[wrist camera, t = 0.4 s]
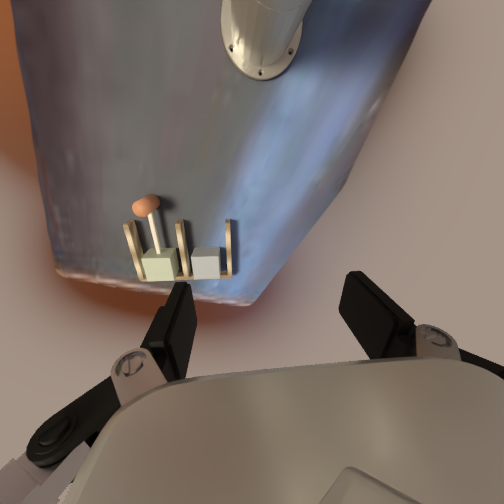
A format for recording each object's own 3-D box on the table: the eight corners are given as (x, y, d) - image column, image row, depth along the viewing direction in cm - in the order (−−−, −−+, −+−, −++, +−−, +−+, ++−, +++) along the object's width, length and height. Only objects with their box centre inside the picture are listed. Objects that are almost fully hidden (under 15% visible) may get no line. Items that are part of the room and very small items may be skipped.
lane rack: (129, 219, 43) (122, 224, 40) (230, 219, 45) (229, 223, 42) (145, 276, 50) (140, 283, 47) (232, 273, 52) (232, 280, 49)
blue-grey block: (194, 247, 48) (190, 256, 43) (219, 246, 48) (218, 256, 44) (197, 268, 50) (194, 279, 46) (221, 267, 51) (220, 278, 46)
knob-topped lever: (136, 194, 41) (121, 201, 35) (165, 194, 41) (155, 201, 36) (155, 269, 49) (145, 283, 44) (179, 268, 50) (173, 282, 45)
